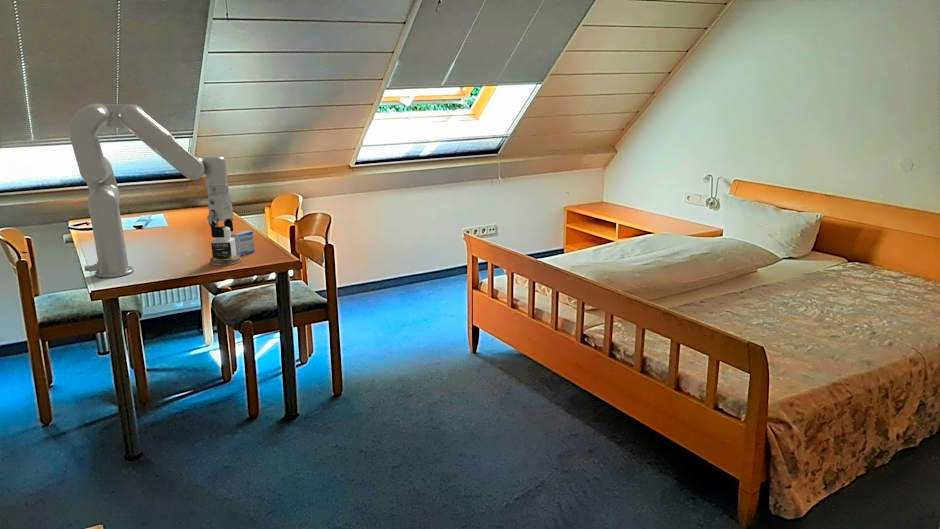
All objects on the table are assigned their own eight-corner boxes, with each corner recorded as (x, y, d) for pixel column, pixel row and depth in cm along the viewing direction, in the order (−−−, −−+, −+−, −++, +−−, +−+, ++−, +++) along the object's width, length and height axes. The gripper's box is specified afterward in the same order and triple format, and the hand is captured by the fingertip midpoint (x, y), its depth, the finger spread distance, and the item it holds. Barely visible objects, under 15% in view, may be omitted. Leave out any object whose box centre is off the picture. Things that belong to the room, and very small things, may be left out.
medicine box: (240, 256, 275) (238, 235, 273) (232, 255, 277) (230, 233, 275) (255, 251, 282) (253, 231, 279) (247, 250, 284) (245, 230, 281)
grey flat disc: (213, 267, 260) (212, 263, 259) (207, 260, 269) (206, 256, 269) (244, 262, 266) (244, 258, 265) (237, 256, 275) (237, 252, 275)
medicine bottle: (212, 260, 263) (209, 229, 260) (218, 255, 270) (214, 225, 267) (232, 260, 264) (228, 229, 261) (236, 255, 271) (233, 225, 268)
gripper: (215, 193, 251) (220, 239, 256) (238, 186, 268) (242, 229, 272) (196, 193, 252) (201, 239, 257) (220, 185, 269) (224, 229, 273)
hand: (222, 234), depth 265 cm, fingers open, 9 cm apart
